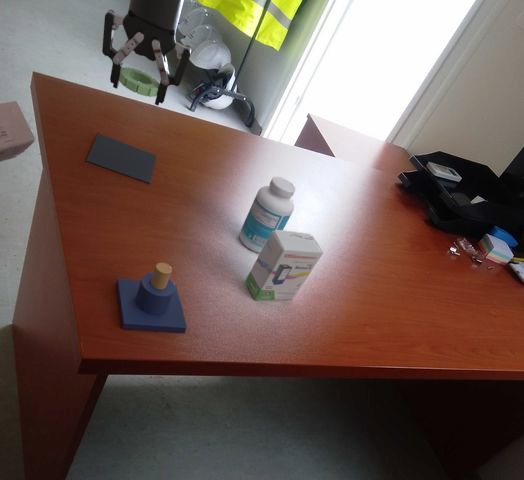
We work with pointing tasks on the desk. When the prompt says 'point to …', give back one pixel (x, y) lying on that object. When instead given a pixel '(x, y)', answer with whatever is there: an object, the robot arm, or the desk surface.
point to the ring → (133, 79)
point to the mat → (122, 158)
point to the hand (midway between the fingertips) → (136, 94)
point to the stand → (151, 302)
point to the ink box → (283, 265)
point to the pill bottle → (268, 213)
